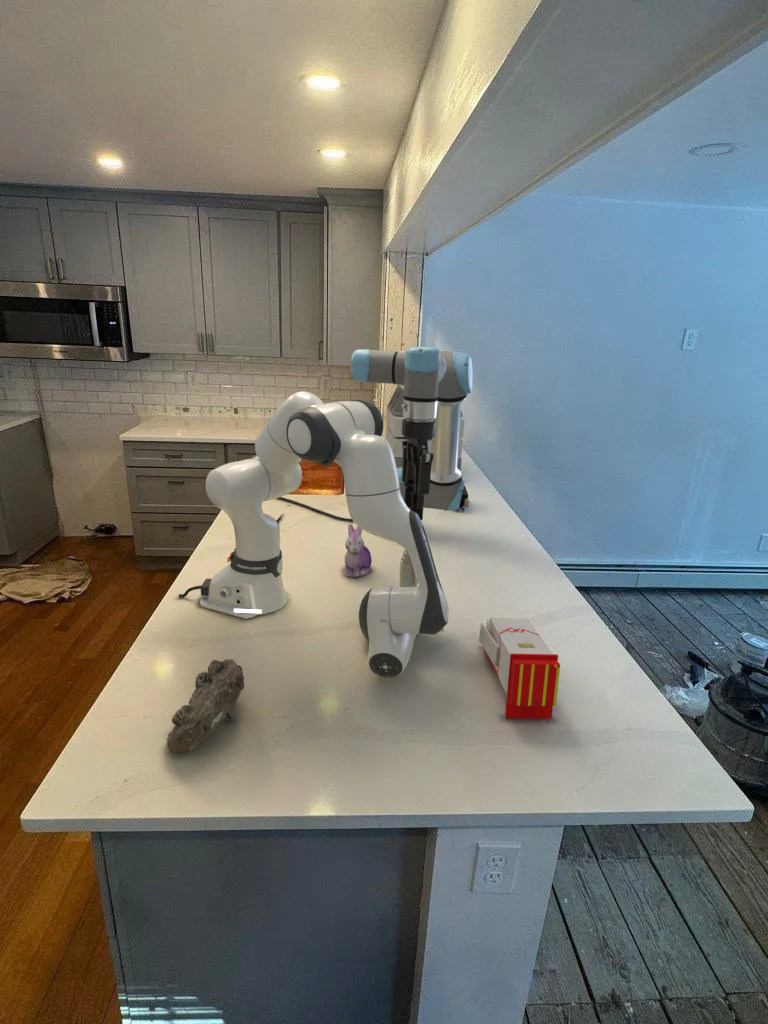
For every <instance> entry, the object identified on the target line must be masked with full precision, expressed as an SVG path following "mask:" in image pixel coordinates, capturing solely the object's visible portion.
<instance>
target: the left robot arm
mask: <svg viewBox="0 0 768 1024" xmlns="http://www.w3.org/2000/svg"><path fill="white" fill-rule="evenodd" d="M383 432H384V419H383V416H382V412H381V411H380V410H379V408H378V407H377V405H375V404H374V403H372V402H370V401H367V400H363V399H350V400H339V401H331V402H328V403H324V402H323V400H322V399H320V397H318V396H317V395H315V394H314V393H311V392H309V391H304V390H303V391H296V392H294V393H292V394H290V395H289V396H288V397H287V398H286V399H285V400H284V401H283V402H282V403H281V404H280V405H279V406H278V407H277V408H276V410H274V412H273V413H272V414H271V416H270V418H269V419H268V420H267V422H266V423H265V425H264V426H263V428H262V429H261V430H260V432H259V433H258V436H256V439H255V441H254V449H255V454H256V456H254V457H252V458H248V459H241V460H238V461H237V460H236V461H232V462H229V463H228V462H227V463H225V464H223V465H220V466H218V467H216V468H214V469H212V470H210V471H209V472H208V474H207V476H206V478H205V492H206V496H207V498H208V500H209V501H210V502H211V504H212V505H214V506H215V507H216V508H218V509H220V510H222V511H223V512H224V513H225V514H226V515H227V516H228V517H229V519H230V521H231V524H232V526H233V530H234V540H235V548H234V549H233V551H232V552H231V553H230V554H229V556H228V557H227V558H226V559H227V561H226V562H227V563H229V562H230V563H229V564H228V565H226V566H225V567H223V568H222V569H220V570H219V571H218V572H217V573H215V574H214V575H213V577H212V578H205V580H204V581H203V582H202V584H200V585H195V586H192V587H190V588H187V589H186V590H185V591H184V593H179V594H178V598H180V599H181V598H182V599H183V598H185V597H187V595H188V594H189V593H191V592H192V591H196V590H200V600H199V606H200V607H201V608H205V609H208V610H212V611H216V612H220V613H223V614H227V615H230V616H235V617H238V618H242V619H251V618H254V617H257V616H259V615H265V614H270V613H274V612H276V611H279V610H281V609H282V608H284V607H285V605H286V604H288V603H287V602H288V596H287V594H286V590H285V587H284V586H285V585H284V581H283V574H282V573H283V551H282V550H281V532H280V531H281V529H280V528H281V527H280V525H279V522H277V519H275V518H274V517H273V516H272V515H269V514H267V513H264V512H263V507H262V506H263V503H264V502H268V501H272V500H276V498H279V497H282V498H284V497H285V496H287V495H290V494H291V493H292V492H295V491H296V490H298V489H299V487H300V486H301V484H302V481H303V470H302V467H301V465H300V463H301V461H302V460H304V461H309V462H314V463H318V464H320V465H322V466H325V467H330V465H332V464H333V463H336V464H337V465H338V466H339V467H340V469H341V470H342V474H343V480H344V491H345V501H346V507H347V510H348V514H349V516H350V519H352V520H353V521H354V522H353V523H354V524H355V525H356V526H357V527H358V526H359V527H360V528H361V529H363V530H362V531H365V532H367V533H368V534H370V535H372V536H376V537H379V538H383V539H386V540H388V541H392V542H394V543H396V544H398V545H399V546H401V547H402V548H404V550H405V549H406V550H407V551H408V553H409V555H410V557H411V561H412V564H413V568H414V571H415V575H416V578H417V582H418V586H417V587H399V586H397V587H395V586H386V587H385V586H384V587H381V586H380V587H371V588H370V589H368V591H367V592H365V594H364V596H363V597H362V599H361V602H360V604H359V608H358V609H359V610H358V623H359V627H360V631H361V634H362V635H363V636H364V638H365V639H366V641H368V644H369V645H368V646H369V647H368V655H367V663H368V667H369V669H370V670H371V672H372V673H373V674H374V675H376V676H379V677H380V678H397V677H398V676H400V675H401V674H402V673H403V672H404V671H405V670H406V668H407V666H408V663H409V662H410V659H411V656H412V652H413V649H414V643H415V641H416V638H417V634H419V635H426V636H435V635H437V634H439V633H443V632H444V631H445V629H446V626H447V624H448V623H449V617H450V616H449V615H450V610H449V608H450V607H449V603H448V600H447V598H446V597H447V596H446V595H445V592H444V589H443V587H442V584H441V581H440V577H439V574H438V571H437V567H436V564H435V560H434V557H433V553H432V549H431V547H430V543H429V540H428V536H427V534H426V533H427V532H426V529H425V526H424V524H423V522H422V521H423V520H421V519H420V517H419V516H418V514H417V513H415V512H413V511H411V510H410V509H409V508H408V507H407V505H406V504H405V502H404V500H403V498H402V495H401V491H400V483H399V477H398V471H397V466H396V462H395V458H394V454H393V451H392V448H391V445H390V443H389V442H388V441H387V440H386V439H385V438H386V437H383V436H382V435H383Z"/></svg>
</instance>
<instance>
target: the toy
mask: <svg viewBox="0 0 768 1024" xmlns="http://www.w3.org/2000/svg"><path fill="white" fill-rule="evenodd" d="M478 642H479V644H480V645H481V647H482V649H483V651H484V653H485V655H486V656H487V659H488V661H489V662H490V664H491V666H492V667H493V669H494V671H495V673H496V675H497V678H498V679H499V682H500V684H501V686H502V688H503V690H504V692H505V694H506V695H505V696H506V701H505V711H504V717H505V719H535V720H536V719H537V720H538V719H539V720H540V719H541V720H552V719H553V710H554V707H556V706H557V699H558V691H559V682H560V681H559V679H560V670H561V664H560V662H559V655H558V654H555V653H552V651H551V649H550V648H549V647H548V645H547V643H545V641H544V640H543V638H542V637H541V636H540V634H539V633H538V631H537V630H536V628H535V626H534V625H533V623H532V622H531V621H530V620H529V618H528V617H493V616H492V617H489V619H486V623H485V624H484V623H482V622H481V623H480V627H479V635H478Z"/></svg>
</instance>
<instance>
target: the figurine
mask: <svg viewBox="0 0 768 1024" xmlns="http://www.w3.org/2000/svg"><path fill="white" fill-rule="evenodd" d="M363 531H364V530H363V529H361V528H360V527H359V526H357V527H356V528H354V526H353V525H352V523H349V524H347V534H348V536H347V538H346V539H345V544H344V545H345V549H346V550H347V551H346V553H345V555H344V564H345V565H344V568H343V571H344V573H345V576H348V577H351V578H352V577H353V578H358V577H361V576H365V575H366V574H369V573H370V572H371V568H372V564H373V563H372V562H373V559H372V558H373V557H372V554H371V551H370V549H369V548H368V547H367V546H366V545H365V541H364V539H363V537H362V533H363Z"/></svg>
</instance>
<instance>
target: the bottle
mask: <svg viewBox="0 0 768 1024" xmlns="http://www.w3.org/2000/svg"><path fill="white" fill-rule="evenodd" d="M399 564H400V565H399V579H398V580H399V581H398V587H417V586H419V585H418V582H417V578H416V575H415V571H414V568H413V564H412V561H411V557H410V555H409V553H408V551H407V550H406V549H405V548H404V551H403V553H402V556H401V558H400V563H399Z"/></svg>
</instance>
